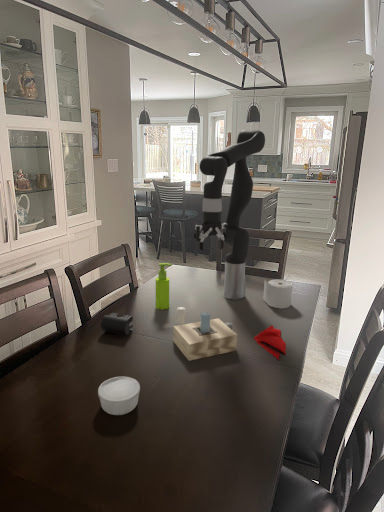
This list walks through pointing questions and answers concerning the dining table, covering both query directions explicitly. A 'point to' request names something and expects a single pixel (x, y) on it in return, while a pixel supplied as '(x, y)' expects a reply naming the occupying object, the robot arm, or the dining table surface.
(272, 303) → the toilet tissue
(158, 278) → the soap dispenser
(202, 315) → the long pin
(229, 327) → the short pin
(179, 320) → the medium pin
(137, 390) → the ramekin
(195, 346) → the hole block
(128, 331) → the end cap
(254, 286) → the dining table surface
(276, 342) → the cloth
